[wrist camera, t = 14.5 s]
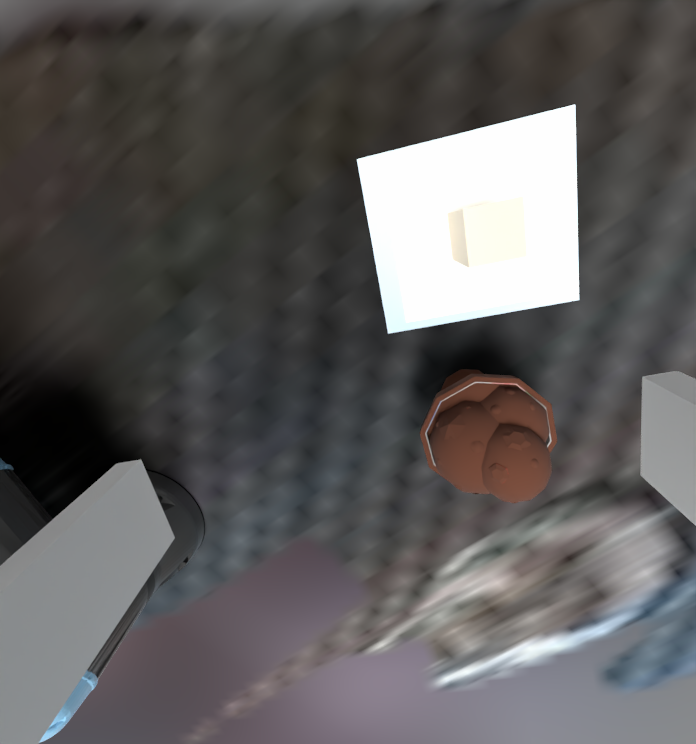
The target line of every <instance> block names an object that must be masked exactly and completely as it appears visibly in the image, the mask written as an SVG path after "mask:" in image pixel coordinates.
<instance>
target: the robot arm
mask: <svg viewBox="0 0 696 744" xmlns="http://www.w3.org/2000/svg"><path fill="white" fill-rule="evenodd" d="M13 470H14V468H13V467H12V466H11V465H9V464H6V463H5V462H4V461H3V460H2V459H1V458H0V744H38V743H40V742H42V741H45V740H47V739H48V738H50V737H52V736H53V735H55V734H56V733H57V732H59V731H60V730H61V729H62V728H63V727H64V726H65V725H66V724H67V723H68V721H69V720H70V719H71V717H72V716H73V714H74V713H75V712H76V710H77V709H78V707H79V706H80V705H81V704H82V702H83V701H84V700H85V698H86V697H87V696H88V694H89V693H90V692H91V691H92V690H93V689H94V688H95V686H96V685H97V683H98V679H99V677H100V676H101V674H102V672H103V671H104V669H105V668H106V666H107V665H108V663H109V661H110V660H111V658H112V657H113V655H114V654H115V652H116V650H117V649H118V647H119V646H120V644H121V643H122V641H123V640H124V638H125V636H126V635H127V633H128V632H129V630H130V629H131V627H132V625H133V624H134V622H135V621H136V619H137V618H138V616H139V614H140V613H141V611H142V610H143V608H144V606H145V605H146V603H147V602H148V600H149V599H150V597H151V596H152V594H153V593H154V592H155V591H156V590H157V589H158V588H160V587H161V586H162V585H163V584H164V583H166V582H167V581H168V580H169V579H170V578H172V577H173V576H174V575H175V574H176V573H177V572H178V571H180V570H181V569H182V568H183V567H185V566H186V565H187V564H188V563H189V561H190V560H191V559H192V558H193V556H194V554H195V553H196V551H197V549H198V548H199V546H200V544H201V542H202V540H203V536H204V521H203V517H202V514H201V512H200V509H199V507H198V505H197V504H196V502H195V501H194V499H193V498H192V497H191V496H190V495H189V494H188V492H187V491H185V490H184V489H183V488H182V487H181V486H180V485H178V484H177V483H175V482H174V481H172V480H171V479H169V478H167V477H165V476H163V475H160V474H158V473H154V472H151V471H146V469H145V467H144V465H143V463H142V460H141V459H140V460H134V461H128V462H122V463H117V464H115V465H114V466H113V467H112V468H111V469H110V470H109V471H107V472H106V473H105V474H104V475H103V476H102V477H101V478H99V479H98V480H97V481H96V482H95V483H94V484H93V485H92V486H90V487H89V488H88V489H87V490H86V491H85V492H84V493H82V494H81V495H80V496H79V497H78V498H77V499H76V500H74V501H73V502H72V503H71V504H70V505H69V506H68V507H66V508H65V509H64V510H63V511H62V512H61V513H60V514H59V515H57V516H56V517H55V518H54V519H52V518H51V516H50V515H49V514H48V513H47V511H46V510H45V509H44V508H43V507H42V505H41V504H40V503H39V502H38V501H37V499H36V498H35V497H34V496H33V494H32V493H31V492H30V491H29V490H28V488H27V487H26V486H25V485H24V483H23V482H22V481H21V480H20V479H19V477H18V476H17V475H16V474H15V473H14V471H13ZM641 476H642V477H643V478H644V479H645V480H646V481H647V482H648V483H650V484H651V485H652V486H653V487H654V488H655V489H656V490H657V491H658V492H659V493H661V494H662V495H663V496H664V497H665V498H666V499H667V500H668V501H669V502H670V503H672V504H673V505H674V506H675V507H676V508H677V509H678V510H679V511H680V512H681V513H683V514H684V515H685V516H686V517H687V518H688V519H689V520H690V521H691V522H692V523H694V524H695V525H696V379H694V378H692V377H690V376H687V375H685V374H683V373H681V372H679V371H674V372H668V373H662V374H656V375H650V376H644V377H642V422H641Z"/></svg>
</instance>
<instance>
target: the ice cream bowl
mask: <svg viewBox="0 0 696 744" xmlns="http://www.w3.org/2000/svg"><path fill="white" fill-rule="evenodd" d="M420 436H421V439H422V443H423V447H424V450H425V454H426V457H427V461H428V465H429V467H430V468H431V469H432V470H434V471H435V472H436V473H438V474H439V475H441V476H442V477H443V478H445V479H446V480H447V481H449V482H450V483H452V484H453V485H454V486H455V487H456V488H457V489H459V490H461V491H463V492H469V493H473V494H479V493H480V494H490V493H492V494H493V495H494V496H496V497H497V498H499V499H501V500H502V501H504V502H511V503H517V502H519V501H529V500H531V499H532V498H534V497H535V496H536V495H538V494H539V493H540V492H541V491H542V490H544V489H545V487H546V485H547V482H548V480H549V478H550V475H551V472H552V465H551V459H550V452H551V451H552V449H553V447H554V446H555V444H556V443H557V437H556V431H555V424H554V418H553V412H552V405H551V404H550V403H549V402H548V401H546V400H545V399H544V398H543V397H541V396H540V395H539V394H538V393H536V392H535V391H534V390H533V389H531V388H530V387H529V386H528V385H526V384H525V383H524V382H523V381H521V380H520V379H519V378H516V377H514V376H511V375H490V374H483V373H482V372H480V371H479V370H470V369H461V370H459V371H457V372H455V373H454V374H452V375H450V376H449V377H447V378H446V380H445V382H444V384H443V387H442V389H441V391H440V392H438V393H437V394H436V396H435V398H434V400H433V403H432V405H431V407H430V409H429V411H428V413H427V415H426V418H425V420H424V422H423V424H422V427H421V430H420Z"/></svg>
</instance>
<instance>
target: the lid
mask: <svg viewBox="0 0 696 744" xmlns="http://www.w3.org/2000/svg"><path fill="white" fill-rule="evenodd" d="M381 170H382V176H383V182H384V188H385V194H386V200H387V206H388V213H389V219H390V225H391V231H392V237H393V243H394V249H395V256H396V262H397V268H398V274H399V280H400V286H401V292H402V299H403V305H404V311H405V317H406V323H407V322H413V321H418V320H424V319H429V318H435V317H440V316H446V315H451V314H457V313H463V312H468V311H474V310H479V309H485V308H490V307H496V306H501V305H507V304H512V303H518V302H524V301H529V300H535V299H540V298H546V297H551V296H557V295H559V276H558V248H557V220H556V192H555V164H554V136H553V123H550V124H546V125H542V126H538V127H534V128H530V129H526V130H522V131H518V132H513V133H509V134H505V135H501V136H497V137H493V138H489V139H485V140H481V141H477V142H473V143H469V144H465V145H461V146H457V147H453V148H449V149H445V150H441V151H437V152H432V153H428V154H424V155H420V156H416V157H412V158H408V159H404V160H400V161H396V162H392V163H388V164H384V165H381Z"/></svg>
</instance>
